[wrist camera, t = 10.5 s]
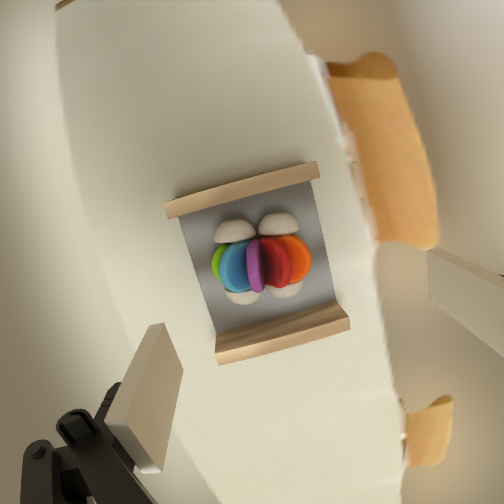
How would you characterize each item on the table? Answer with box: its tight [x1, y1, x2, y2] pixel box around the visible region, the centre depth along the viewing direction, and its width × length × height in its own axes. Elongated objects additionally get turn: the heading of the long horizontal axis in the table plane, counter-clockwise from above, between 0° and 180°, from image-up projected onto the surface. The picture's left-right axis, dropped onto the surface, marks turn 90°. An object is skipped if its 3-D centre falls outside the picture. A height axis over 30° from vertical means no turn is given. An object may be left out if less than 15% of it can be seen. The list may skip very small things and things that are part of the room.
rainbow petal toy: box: [211, 212, 312, 305], centre depth 30 cm, size 8×10×7 cm
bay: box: [164, 162, 351, 365], centre depth 32 cm, size 17×14×5 cm
